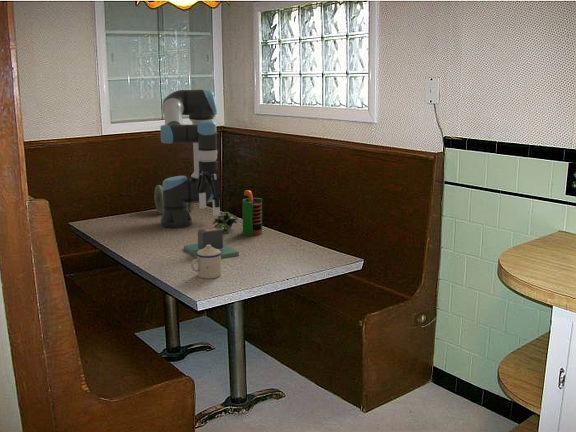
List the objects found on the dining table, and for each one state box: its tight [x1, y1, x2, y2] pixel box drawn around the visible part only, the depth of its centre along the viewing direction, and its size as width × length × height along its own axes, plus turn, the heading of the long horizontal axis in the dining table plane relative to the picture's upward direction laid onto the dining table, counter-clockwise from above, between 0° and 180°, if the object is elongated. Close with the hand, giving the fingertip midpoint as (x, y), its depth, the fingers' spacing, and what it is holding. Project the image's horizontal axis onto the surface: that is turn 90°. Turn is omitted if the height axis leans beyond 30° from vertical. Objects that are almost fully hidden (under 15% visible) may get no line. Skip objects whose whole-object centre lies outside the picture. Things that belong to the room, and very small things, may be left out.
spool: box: [153, 184, 195, 215], centre depth 338 cm, size 16×15×15 cm
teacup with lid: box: [190, 245, 222, 280], centre depth 236 cm, size 12×9×12 cm
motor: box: [242, 189, 263, 237], centre depth 294 cm, size 10×9×20 cm
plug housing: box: [197, 227, 224, 250], centre depth 266 cm, size 5×9×8 cm, turn 121°
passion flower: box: [212, 211, 238, 234], centre depth 299 cm, size 11×11×12 cm
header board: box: [183, 242, 240, 259], centre depth 267 cm, size 20×16×4 cm
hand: (209, 211), depth 263 cm, fingers open, 13 cm apart
